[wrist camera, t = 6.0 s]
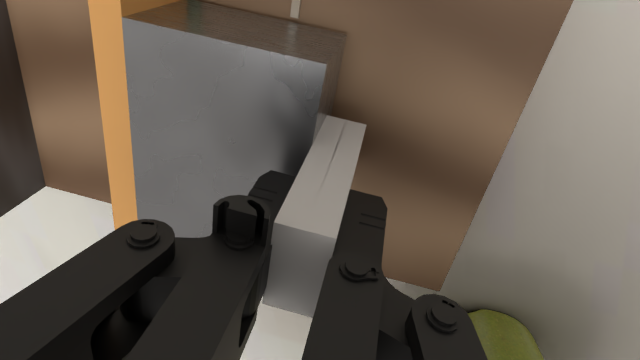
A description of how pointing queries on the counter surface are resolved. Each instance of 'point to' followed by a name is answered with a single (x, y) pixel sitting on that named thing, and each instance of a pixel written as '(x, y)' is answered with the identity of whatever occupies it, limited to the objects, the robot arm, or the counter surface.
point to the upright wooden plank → (116, 98)
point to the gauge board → (349, 103)
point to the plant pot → (504, 337)
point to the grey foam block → (220, 104)
